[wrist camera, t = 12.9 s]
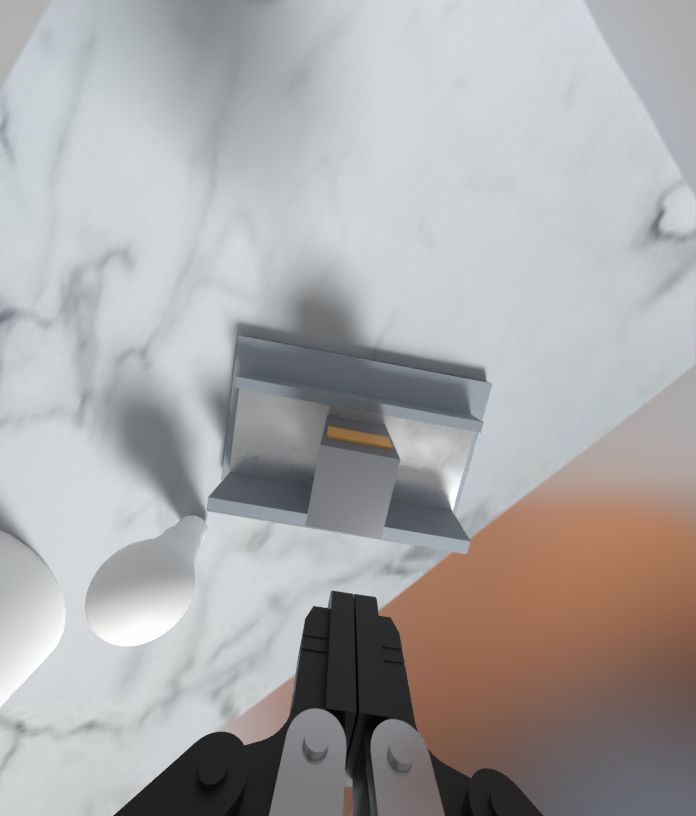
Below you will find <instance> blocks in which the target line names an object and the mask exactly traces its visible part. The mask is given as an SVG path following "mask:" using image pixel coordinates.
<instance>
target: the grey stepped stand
mask: <svg viewBox="0 0 696 816" xmlns="http://www.w3.org/2000/svg"><path fill="white" fill-rule="evenodd" d="M491 386H492V383H489V382H485V381H479V380H474V379H469V378H463V377H458V376H453V375H448V374H442V373H437V372H432V371H426V370H421V369H416V368H411V367H405V366H400V365H395V364H390V363H384V362H379V361H374V360H368V359H363V358H358V357H353V356H347V355H342V354H337V353H331V352H326V351H321V350H316V349H310V348H305V347H300V346H295V345H289V344H284V343H279V342H273V341H268V340H263V339H258V338H252V337H247V336H238V340H237V348H236V357H235V366H234V374H233V383H232V392H231V400H230V409H229V418H228V426H227V435H226V444H225V452H224V461H223V470H222V478H221V480H222V482H221V483H220V484H219V485H218V487H217V488H216V489H215V490H214V491H213V492H212V494H211V495H210V496H209V497H208V504H207V511H210V512H216V513H222V514H228V515H234V516H240V517H246V518H253V519H259V520H265V521H271V522H277V523H283V524H289V525H295V526H301V527H307V528H313V529H319V530H325V531H331V532H337V533H343V534H349V535H355V536H361V535H356V534H350V533H344V532H338V531H332V530H327V529H321V528H315V527H309V526H305V524H306V519H307V513H308V508H309V503H310V497H311V492H312V487H307V486H301V485H295V484H289V483H284V482H278V481H272V480H266V479H260V478H254V477H249V476H243V475H237V474H231V473H229V469H230V461H231V453H232V444H233V436H234V428H235V419H236V411H237V403H238V394H239V389H244V390H249V391H255V392H260V393H266V394H271V395H277V396H282V397H288V398H293V399H299V400H304V401H310V402H315V403H321V404H326V405H332V406H337V407H343V408H348V409H354V410H359V411H365V412H370V413H375V414H381V415H386V416H392V417H397V418H403V419H408V420H414V421H419V422H425V423H430V424H436V425H441V426H447V427H452V428H458V429H463V430H469V431H474V436H473V439H472V443H471V446H470V450H469V454H468V457H467V461H466V464H465V468H464V472H463V475H462V479H461V482H460V486H459V489H458V493H457V497H456V500H455V504H454V507H453V511H447V510H441V509H435V508H430V507H424V506H418V505H412V504H406V503H400V502H395V501H390V505H389V509H388V513H387V517H386V521H385V525H384V530H383V534H382V538H381V539H379V538H373V537H367V536H361V537H367V538H373V539H379V540H385V541H391V542H397V543H403V544H409V545H415V546H421V547H427V548H433V549H439V550H445V551H451V552H457V553H463V554H467V551H468V548H469V544H470V540H469V538H468V536H467V535H466V533H465V531H464V530H463V528H462V527H461V525H460V523H459V522H458V520H457V518H456V517H455V514H456V511H457V507H458V504H459V500H460V497H461V493H462V489H463V486H464V482H465V479H466V475H467V472H468V468H469V465H470V461H471V457H472V454H473V450H474V447H475V443H476V440H477V436H478V432H480V433H481V429H482V426H483V422H482V418H483V415H484V411H485V408H486V404H487V400H488V397H489V393H490V390H491Z"/></svg>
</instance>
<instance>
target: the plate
mask: <svg viewBox="0 0 696 816" xmlns="http://www.w3.org/2000/svg"><path fill="white" fill-rule="evenodd" d="M327 415H329V416H335V417H340V418H345V419H351V420H356V421H361V422H367V423H372V424H377V425H383V426H386V428H387V430H388V432H389V435H390V437H391V439H392V441H393V444H394V446H395V448H396V451H397V453H398V455H399V458H400V463H399V467H398V471H397V476H396V480H395V484H394V488H393V492H392V496H391V501H395V502H400V503H406V504H412V505H418V506H424V507H430V508H435V509H441V510H447V511H453V507H454V504H455V500H456V497H457V493H458V489H459V486H460V482H461V479H462V475H463V472H464V468H465V464H466V461H467V457H468V454H469V450H470V446H471V443H472V439H473V436H474V431H469V430H463V429H458V428H452V427H447V426H441V425H436V424H430V423H425V422H419V421H414V420H408V419H403V418H397V417H392V416H386V415H381V414H375V413H370V412H365V411H359V410H354V409H348V408H343V407H337V406H332V405H326V404H321V403H315V402H310V401H304V400H299V399H293V398H288V397H282V396H277V395H271V394H266V393H260V392H255V391H249V390H244V389H239V394H238V403H237V411H236V419H235V428H234V436H233V444H232V453H231V461H230V469H229V473H231V474H237V475H243V476H249V477H254V478H260V479H266V480H272V481H278V482H284V483H289V484H295V485H301V486H307V487H313V481H314V476H315V470H316V465H317V460H318V454H319V449H320V444H321V440H322V436H323V431H324V427H325V423H326V419H327Z"/></svg>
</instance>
